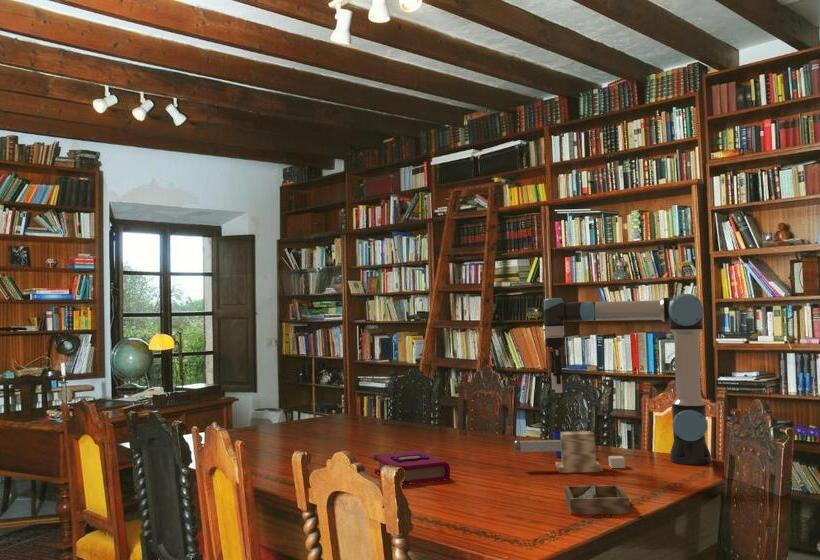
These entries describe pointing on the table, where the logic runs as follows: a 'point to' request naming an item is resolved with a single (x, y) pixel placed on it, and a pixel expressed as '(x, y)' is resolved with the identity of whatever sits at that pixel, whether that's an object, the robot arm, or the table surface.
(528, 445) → the shaft
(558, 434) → the mug
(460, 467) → the table surface
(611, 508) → the wooden tray
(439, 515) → the table surface
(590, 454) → the block
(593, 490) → the rock sample
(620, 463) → the spacer
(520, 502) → the table surface
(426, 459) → the book
